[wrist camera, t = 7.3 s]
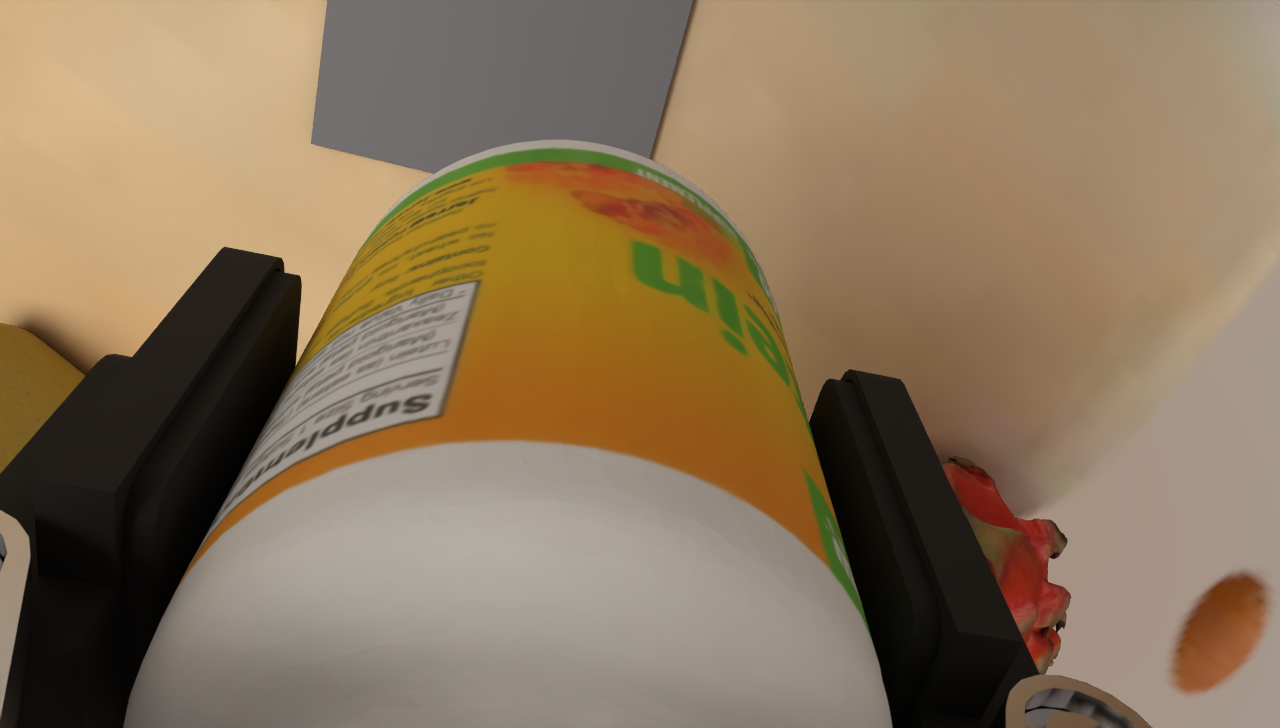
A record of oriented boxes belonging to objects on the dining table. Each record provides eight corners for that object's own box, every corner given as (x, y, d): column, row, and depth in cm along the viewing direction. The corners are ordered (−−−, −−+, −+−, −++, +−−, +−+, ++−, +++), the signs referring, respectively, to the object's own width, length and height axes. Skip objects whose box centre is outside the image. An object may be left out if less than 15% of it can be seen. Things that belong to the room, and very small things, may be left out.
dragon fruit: (1019, 545, 42) (742, 438, 41) (1156, 480, 34) (820, 348, 34) (987, 759, 38) (682, 645, 38) (1134, 739, 31) (754, 594, 30)
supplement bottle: (850, 377, 14) (1228, 1358, 5) (526, 564, 15) (410, 1566, 7) (610, 32, 11) (587, 778, 3) (256, 290, 13) (-429, 1279, 4)
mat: (357, -225, 27) (353, -225, 27) (724, -118, 29) (725, -117, 28) (314, 139, 32) (310, 143, 31) (632, 216, 33) (632, 221, 33)
